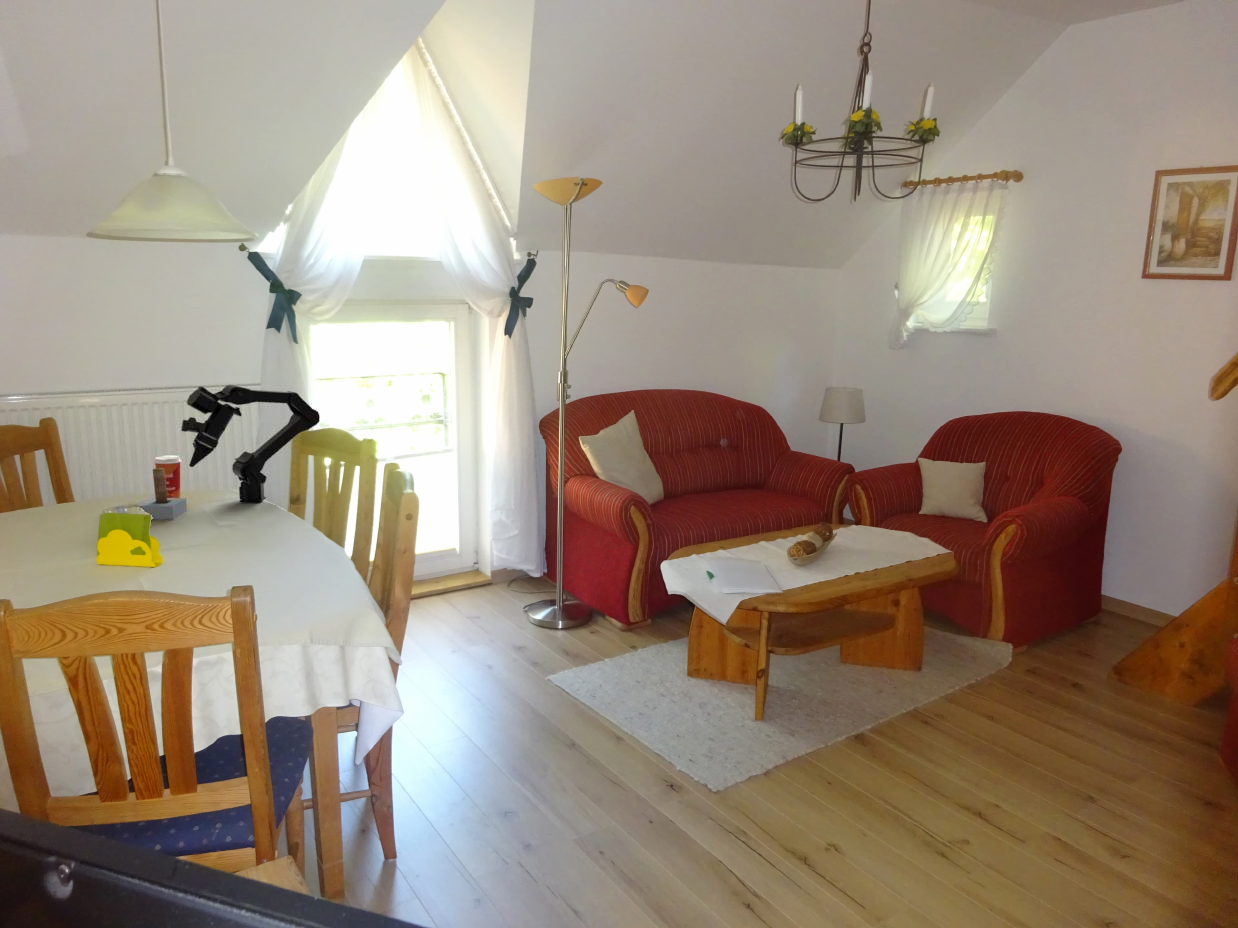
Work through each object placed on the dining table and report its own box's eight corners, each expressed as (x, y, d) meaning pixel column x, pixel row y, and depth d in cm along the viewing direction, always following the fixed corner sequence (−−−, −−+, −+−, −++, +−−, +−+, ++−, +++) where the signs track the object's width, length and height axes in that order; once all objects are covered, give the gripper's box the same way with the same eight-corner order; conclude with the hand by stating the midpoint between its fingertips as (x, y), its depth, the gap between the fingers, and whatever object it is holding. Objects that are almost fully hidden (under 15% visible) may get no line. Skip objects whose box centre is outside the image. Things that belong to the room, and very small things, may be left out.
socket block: (187, 510, 257) (186, 498, 256) (173, 519, 247) (172, 506, 246) (152, 510, 256) (151, 497, 255) (137, 519, 246) (136, 505, 245)
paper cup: (150, 501, 266) (147, 458, 263) (170, 496, 273) (167, 454, 271) (170, 504, 264) (167, 460, 261) (189, 499, 271) (187, 456, 268)
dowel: (170, 510, 252) (166, 468, 250) (162, 513, 250) (158, 470, 247) (162, 509, 253) (158, 467, 250) (154, 512, 250) (150, 469, 248)
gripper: (191, 411, 265) (164, 454, 261) (193, 405, 249) (164, 451, 245) (225, 428, 270) (199, 471, 266) (229, 424, 253) (202, 470, 249)
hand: (191, 466), depth 256 cm, fingers open, 9 cm apart
